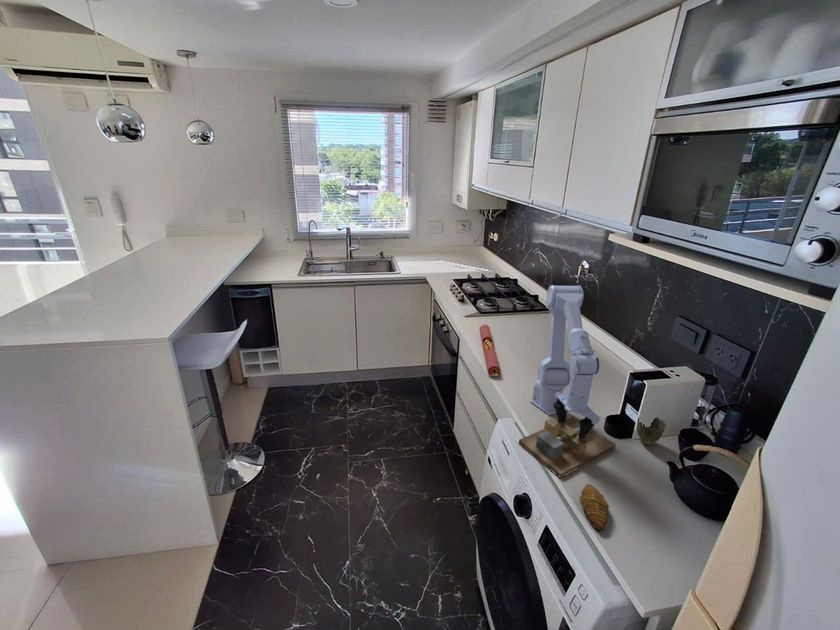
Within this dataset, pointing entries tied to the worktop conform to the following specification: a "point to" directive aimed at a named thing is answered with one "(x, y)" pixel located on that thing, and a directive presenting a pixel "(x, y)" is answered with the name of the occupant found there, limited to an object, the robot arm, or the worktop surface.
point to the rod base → (557, 456)
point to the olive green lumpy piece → (651, 431)
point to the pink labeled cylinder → (489, 351)
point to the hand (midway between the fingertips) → (571, 430)
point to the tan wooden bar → (566, 435)
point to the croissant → (594, 506)
